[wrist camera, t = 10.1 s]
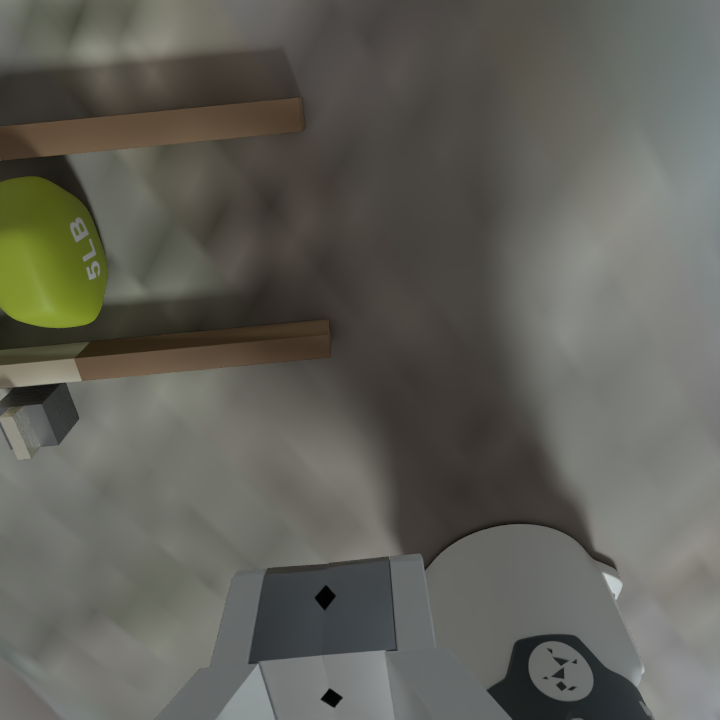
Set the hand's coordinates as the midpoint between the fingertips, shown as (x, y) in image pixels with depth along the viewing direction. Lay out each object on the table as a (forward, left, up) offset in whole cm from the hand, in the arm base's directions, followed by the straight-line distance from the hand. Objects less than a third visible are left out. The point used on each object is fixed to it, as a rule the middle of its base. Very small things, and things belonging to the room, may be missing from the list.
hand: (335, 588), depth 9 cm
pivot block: (-9, +20, -25) cm, 33 cm away
